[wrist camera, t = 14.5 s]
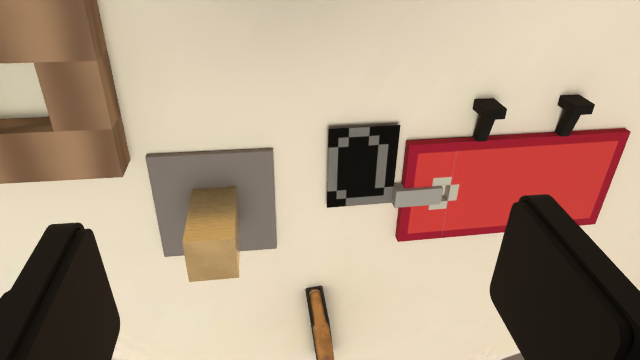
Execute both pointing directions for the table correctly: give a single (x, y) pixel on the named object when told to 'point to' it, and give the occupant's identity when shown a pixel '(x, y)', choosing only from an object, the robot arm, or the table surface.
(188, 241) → the wooden block
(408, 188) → the red board with handle
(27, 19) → the socket block
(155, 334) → the table surface
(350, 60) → the table surface
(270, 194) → the rubber mat
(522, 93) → the table surface
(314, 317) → the ammunition clip
